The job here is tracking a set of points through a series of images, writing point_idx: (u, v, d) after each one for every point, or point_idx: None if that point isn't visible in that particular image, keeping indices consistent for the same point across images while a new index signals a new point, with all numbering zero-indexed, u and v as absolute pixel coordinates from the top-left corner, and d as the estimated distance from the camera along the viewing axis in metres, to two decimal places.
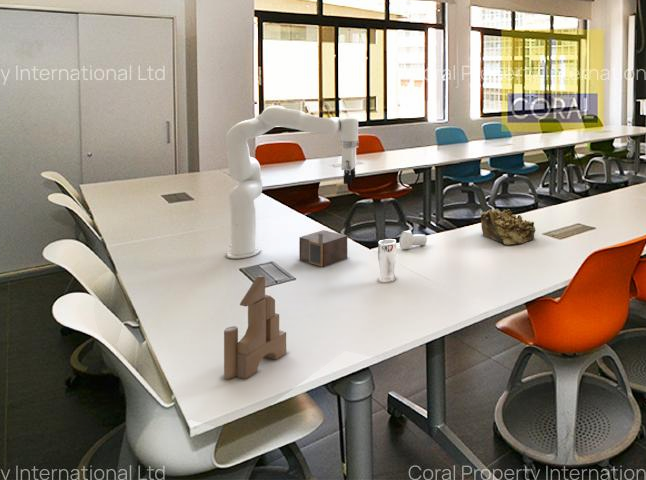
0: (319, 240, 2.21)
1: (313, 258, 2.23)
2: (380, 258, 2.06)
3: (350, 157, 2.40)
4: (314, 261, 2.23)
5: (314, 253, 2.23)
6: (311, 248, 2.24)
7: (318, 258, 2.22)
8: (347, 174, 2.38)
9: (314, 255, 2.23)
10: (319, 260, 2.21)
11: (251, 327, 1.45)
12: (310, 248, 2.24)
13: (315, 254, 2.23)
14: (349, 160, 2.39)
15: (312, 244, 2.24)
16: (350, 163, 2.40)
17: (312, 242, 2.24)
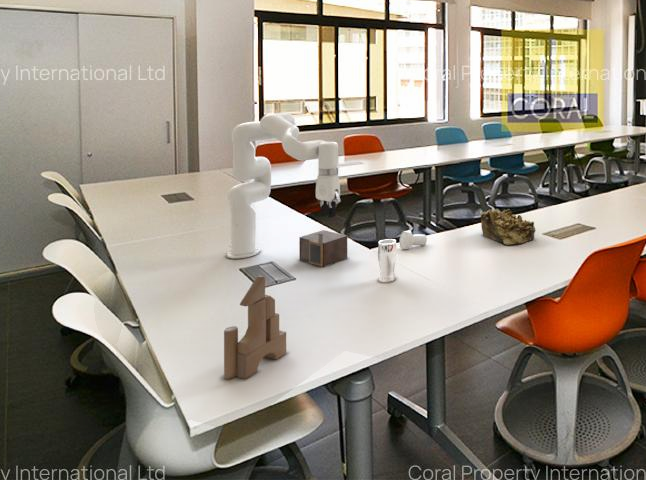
0: (319, 240, 2.21)
1: (313, 258, 2.23)
2: (380, 258, 2.06)
3: (338, 185, 2.18)
4: (314, 261, 2.23)
5: (314, 253, 2.23)
6: (311, 248, 2.24)
7: (318, 258, 2.22)
8: (334, 206, 2.17)
9: (314, 255, 2.23)
10: (319, 260, 2.21)
11: (251, 327, 1.45)
12: (310, 248, 2.24)
13: (315, 254, 2.23)
14: (338, 188, 2.17)
15: (312, 244, 2.24)
16: (339, 192, 2.17)
17: (312, 242, 2.24)
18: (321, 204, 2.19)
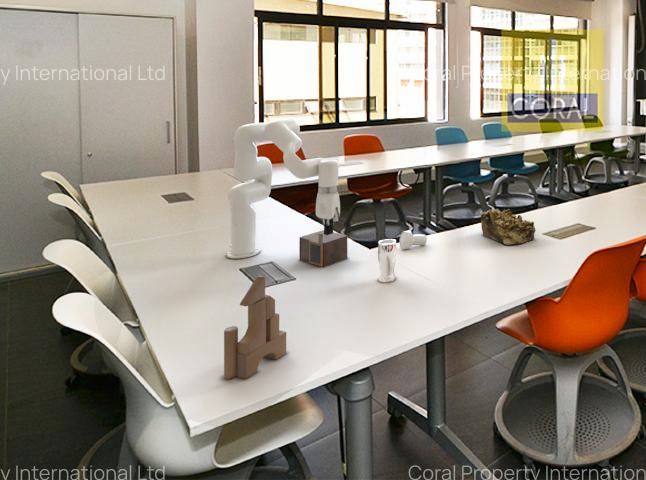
0: (319, 240, 2.21)
1: (313, 258, 2.23)
2: (380, 258, 2.06)
3: (338, 203, 2.18)
4: (314, 261, 2.23)
5: (314, 253, 2.23)
6: (311, 248, 2.24)
7: (318, 258, 2.22)
8: (332, 223, 2.18)
9: (314, 255, 2.23)
10: (319, 260, 2.21)
11: (251, 327, 1.45)
12: (310, 248, 2.24)
13: (315, 254, 2.23)
14: (338, 206, 2.17)
15: (312, 244, 2.24)
16: (339, 210, 2.18)
17: (312, 242, 2.24)
18: (324, 222, 2.18)
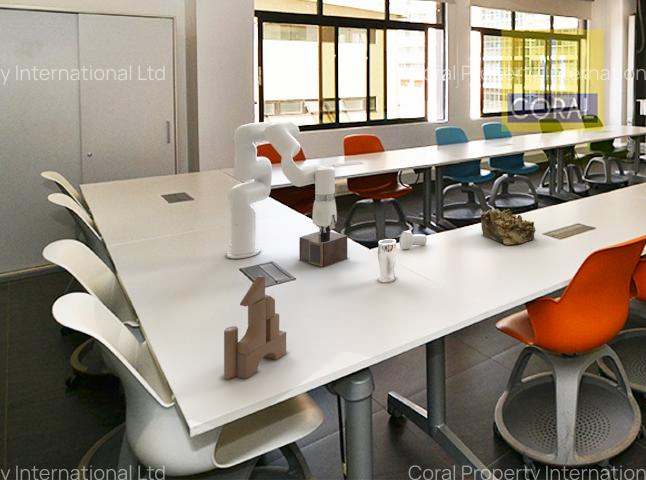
0: (319, 240, 2.21)
1: (313, 258, 2.23)
2: (380, 258, 2.06)
3: (335, 210, 2.19)
4: (314, 261, 2.23)
5: (314, 253, 2.23)
6: (311, 248, 2.24)
7: (318, 258, 2.22)
8: (328, 231, 2.19)
9: (314, 255, 2.23)
10: (319, 260, 2.21)
11: (251, 327, 1.45)
12: (310, 248, 2.24)
13: (315, 254, 2.23)
14: (335, 214, 2.18)
15: (312, 244, 2.24)
16: (335, 217, 2.19)
17: (312, 242, 2.24)
18: (320, 230, 2.20)
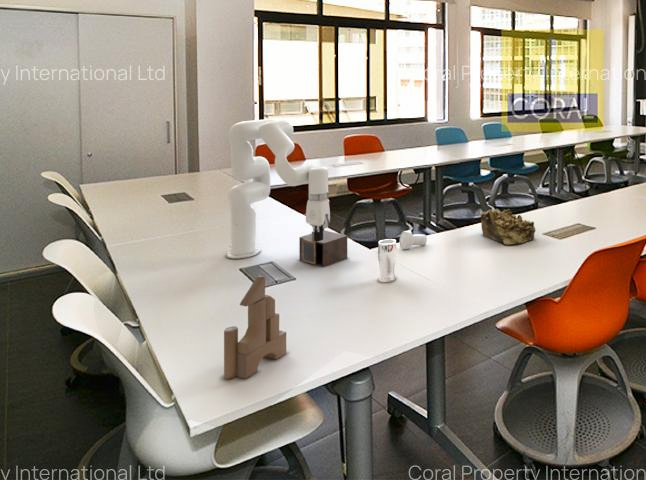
0: (312, 239, 2.23)
1: (306, 256, 2.26)
2: (380, 258, 2.06)
3: (328, 210, 2.21)
4: (307, 259, 2.26)
5: (307, 251, 2.25)
6: (305, 246, 2.26)
7: (311, 256, 2.24)
8: (322, 230, 2.21)
9: (307, 253, 2.25)
10: (312, 258, 2.24)
11: (251, 327, 1.45)
12: (303, 246, 2.27)
13: (309, 252, 2.25)
14: (328, 213, 2.20)
15: (305, 242, 2.26)
16: (329, 216, 2.21)
17: (305, 240, 2.26)
18: (314, 229, 2.22)
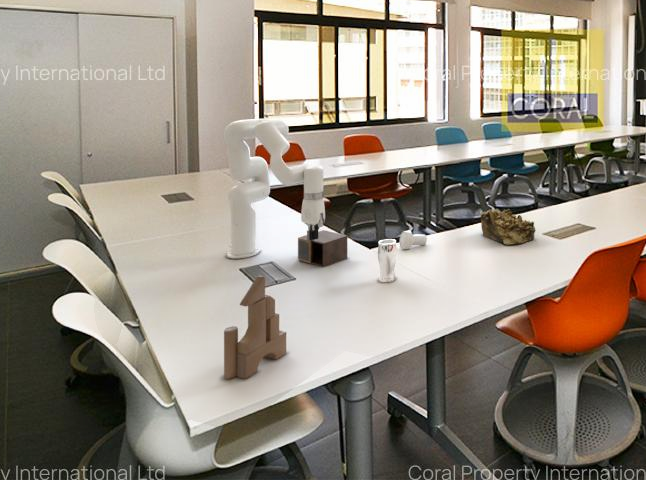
0: (308, 237, 2.25)
1: (302, 255, 2.27)
2: (380, 258, 2.06)
3: (323, 209, 2.22)
4: (302, 258, 2.27)
5: (303, 250, 2.27)
6: (300, 245, 2.28)
7: (307, 255, 2.25)
8: (317, 229, 2.23)
9: (302, 252, 2.27)
10: (307, 257, 2.25)
11: (251, 327, 1.45)
12: (299, 245, 2.28)
13: (304, 251, 2.26)
14: (323, 212, 2.22)
15: (300, 241, 2.28)
16: (324, 215, 2.22)
17: (301, 239, 2.28)
18: (309, 228, 2.23)
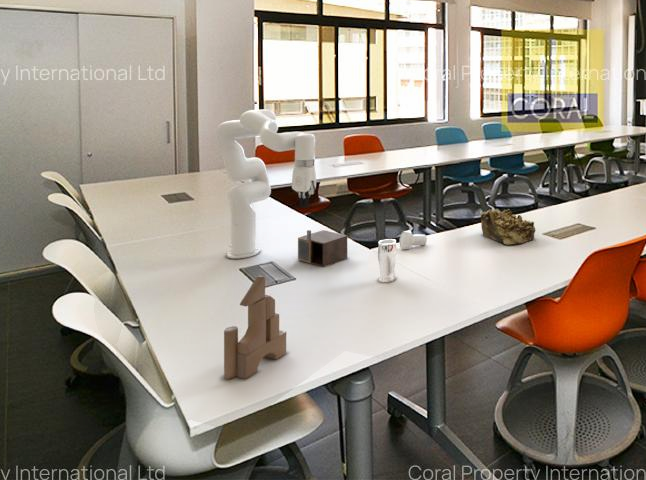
0: (308, 237, 2.25)
1: (302, 255, 2.27)
2: (380, 258, 2.06)
3: (314, 176, 2.20)
4: (302, 258, 2.27)
5: (303, 250, 2.27)
6: (300, 245, 2.28)
7: (307, 255, 2.25)
8: (307, 197, 2.21)
9: (302, 252, 2.27)
10: (307, 257, 2.25)
11: (251, 327, 1.45)
12: (299, 245, 2.28)
13: (304, 251, 2.26)
14: (314, 180, 2.20)
15: (300, 241, 2.28)
16: (315, 183, 2.20)
17: (301, 239, 2.28)
18: (299, 195, 2.21)
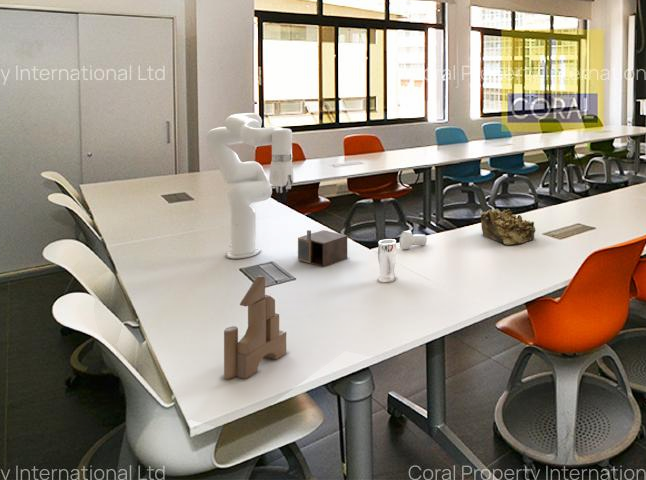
0: (308, 237, 2.25)
1: (302, 255, 2.27)
2: (380, 258, 2.06)
3: (291, 171, 2.21)
4: (302, 258, 2.27)
5: (303, 250, 2.27)
6: (300, 245, 2.28)
7: (307, 255, 2.25)
8: (285, 191, 2.22)
9: (302, 252, 2.27)
10: (307, 257, 2.25)
11: (251, 327, 1.45)
12: (299, 245, 2.28)
13: (304, 251, 2.26)
14: (291, 174, 2.21)
15: (300, 241, 2.28)
16: (292, 177, 2.21)
17: (301, 239, 2.28)
18: (277, 190, 2.22)
